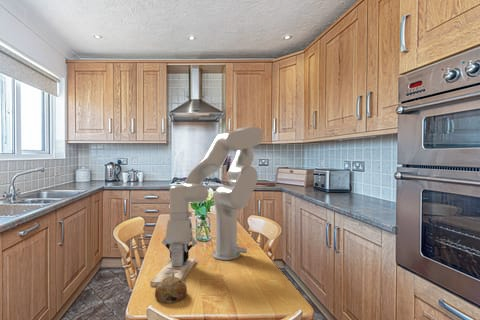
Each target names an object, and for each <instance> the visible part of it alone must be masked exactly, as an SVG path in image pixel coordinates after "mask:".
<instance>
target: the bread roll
mask: <svg viewBox="0 0 480 320" xmlns="http://www.w3.org/2000/svg"><path fill="white" fill-rule="evenodd" d="M155 287H156V288H155V290H154V298H155V299H156V300H157V301H159V302H160V303H163V304H168V305H169V304H173V303H177V302H180V301H182V300H184V299H185V298H186V296H187V293H188V289H187V284H186V282H184V280H183V281H182V280H180V279H179V278H177V277H172V276H171V277H167V278H165V279H164V280H163V281H162V282H161V283H159V284H158V285H157V286H155Z"/></svg>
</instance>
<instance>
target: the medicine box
mask: <svg viewBox="0 0 480 320" xmlns="http://www.w3.org/2000/svg"><path fill="white" fill-rule="evenodd" d="M170 260H171V265H172V266H181V267H182V266H183V264H184V263H185V262H184V245H183V244H172V245H171V258H170Z"/></svg>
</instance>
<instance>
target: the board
mask: <svg viewBox="0 0 480 320" xmlns="http://www.w3.org/2000/svg"><path fill="white" fill-rule="evenodd" d="M196 260H197V259H196V258H192V257H188V259H187V261H186V262H185V263H184V264H183V266H182V267H181V266H172V265H171V259H170V260H169V261H168V262H167V263H166V264H165V265H164V267H162V268H161V270H160V271H158V272H157V274H156V275H155V276H154V277H153V278H152V279H151V280H150V283H149V285H150V286H151V287H157V285H158V284H159V283H161V282H162V281H163V280H164V279H165V278H167V277H171V276H172V277H177V278H179V279H180V280H182V281H183V282H184V280H185V278H186V277H187V275H188V274H189V272H190V271H191V269H192V268H193V266H194V265H195V263H196Z"/></svg>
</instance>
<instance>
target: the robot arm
mask: <svg viewBox="0 0 480 320" xmlns="http://www.w3.org/2000/svg"><path fill="white" fill-rule="evenodd" d="M263 140H264V132H263V130H262V129H261V128H260V127H259V126H255V125H253V126H252V125H251V126H245V127H238V128H237V129H235V130H233V131H231V130H230V131H222V132H220V133H218V134H217V136H216V137H215V138H214V139H213V142H212V144H211V145H210V148H209V149H208V150H207V152H206V154H205V155H204V158H203V159H202V160H201V161H200V162H199V163H198V164H197V165H196V166H195V167H194V168H193V169H192V170H191V171H190V172H189V173H188V175H187V177H186V178H185V180H184V182H183V183H182V184H174V185H171V186H170V187H169V218H168V219H167V224H166V230H165V231H166V232H165V233H166V234H165V237H164V238H163V240H162V241H161V244H163V245H164V246H165V247H166V248H167V250H168V252H169V259H171V245H172V244H183V245H184V262H186V261H187V259H188V258H190V257H189V251H190V250H191V249H192V248H193V247H195V246H196V245H197V240H196V239H195V238H194V234H193V225H192V219H191V217H192V216H193V214H192V212H190V210H189V203H204V202H205V201H206V200H207V199H208V198H209V194H210V193H209V189H208V188H207V187H206V186H205V185H203V184H202V183H203V182H204V181H205V179H207V178H208V177H210V176H211V175H213V174H214V173H217V172H218V171H220V170H221V169H222V167H223V165H224V163H225V161H226V159H227V158H228V156H229V154H230V152H236V153H235V156H234V157H233V160H232V161H231V162H232V163H231V164H230V166H229V168H228V170H227V173H226V181H227V183H229V184H230V185H221V186H218V187H217V188H216V190H215V191H214V193H213V203H214V207H215V208H214V209H215V210H214V211H215V250H214V251H213V252H212V257H213V258H214V259H216V260H220V261H232V260H235V259H236V260H237V259H238V258H239V257H241V253H243V254H247V252H248V251H247V248H245V247H244V246H242V247H240V246H239V243H238V214H237V211H239V210H242V209H244V208H245V207H246V206H247V204H248V203H249V200H250V198H251V196H252V195H253V192H254V190H255V188H256V185H257V182H258V172H257V169H256V168H255V167H254V166H252V165H253V164H252V163H253V161H254V150H253V148H252V147H255V146H258V145H260V144H261V143H262V142H263ZM232 185H233V186H232Z"/></svg>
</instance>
